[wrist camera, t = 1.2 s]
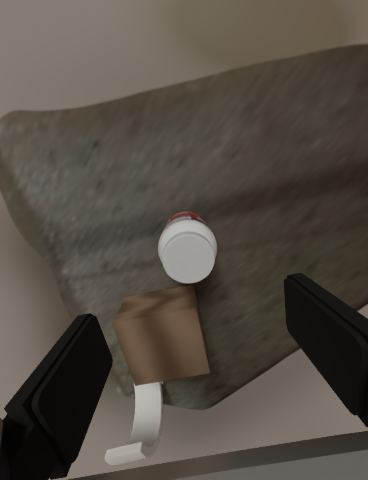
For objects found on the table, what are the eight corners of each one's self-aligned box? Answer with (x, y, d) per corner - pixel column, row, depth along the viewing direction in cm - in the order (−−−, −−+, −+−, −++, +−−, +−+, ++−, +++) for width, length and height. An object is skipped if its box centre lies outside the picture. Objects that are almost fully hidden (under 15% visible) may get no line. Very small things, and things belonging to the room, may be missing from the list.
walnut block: (193, 284, 29) (196, 308, 23) (204, 339, 32) (210, 373, 26) (125, 297, 30) (112, 323, 24) (143, 350, 32) (135, 385, 27)
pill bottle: (212, 244, 27) (232, 280, 17) (173, 257, 28) (168, 300, 17) (199, 204, 26) (211, 216, 15) (158, 219, 26) (142, 240, 16)
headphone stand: (154, 359, 33) (140, 451, 22) (165, 383, 35) (158, 480, 23) (130, 365, 33) (104, 459, 22) (142, 388, 35) (123, 487, 23)
